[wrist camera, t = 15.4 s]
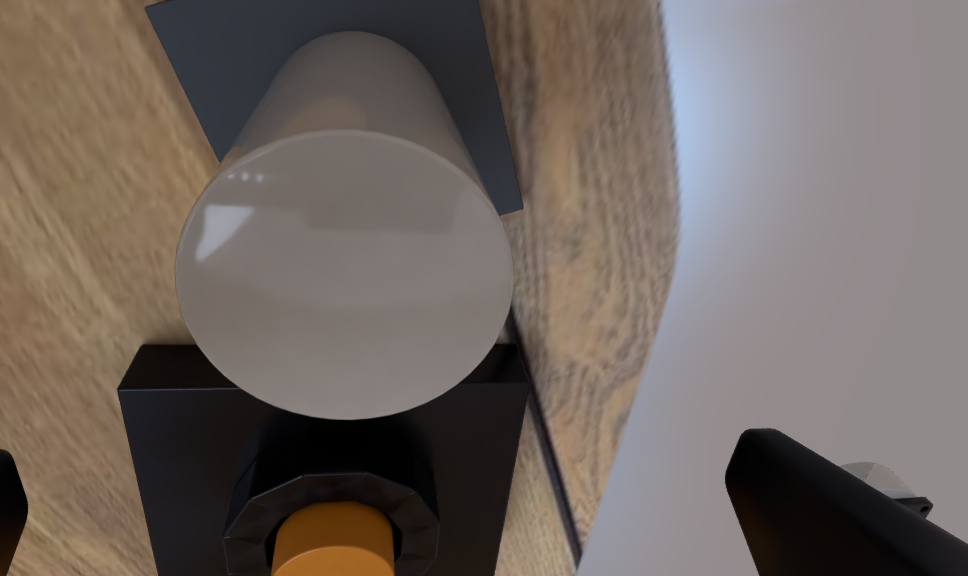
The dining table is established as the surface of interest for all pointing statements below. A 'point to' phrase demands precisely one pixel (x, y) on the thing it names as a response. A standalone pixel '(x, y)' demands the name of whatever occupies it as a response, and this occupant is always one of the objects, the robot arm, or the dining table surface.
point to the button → (334, 542)
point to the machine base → (318, 466)
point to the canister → (346, 240)
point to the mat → (324, 10)
